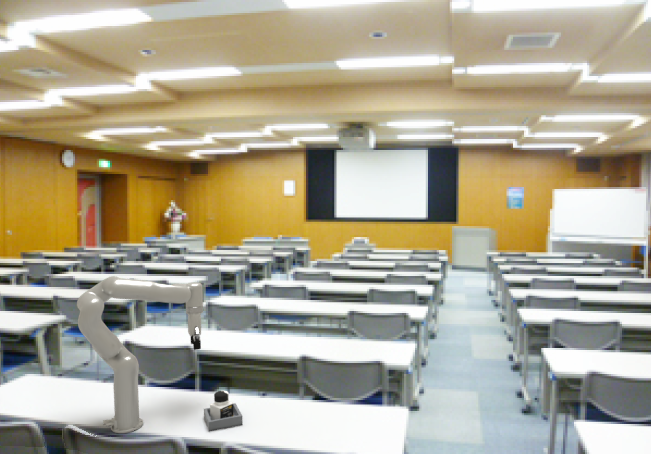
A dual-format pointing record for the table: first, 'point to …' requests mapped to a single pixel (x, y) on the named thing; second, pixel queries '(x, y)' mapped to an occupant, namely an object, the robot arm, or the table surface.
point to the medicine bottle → (221, 406)
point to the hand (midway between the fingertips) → (195, 346)
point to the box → (223, 420)
